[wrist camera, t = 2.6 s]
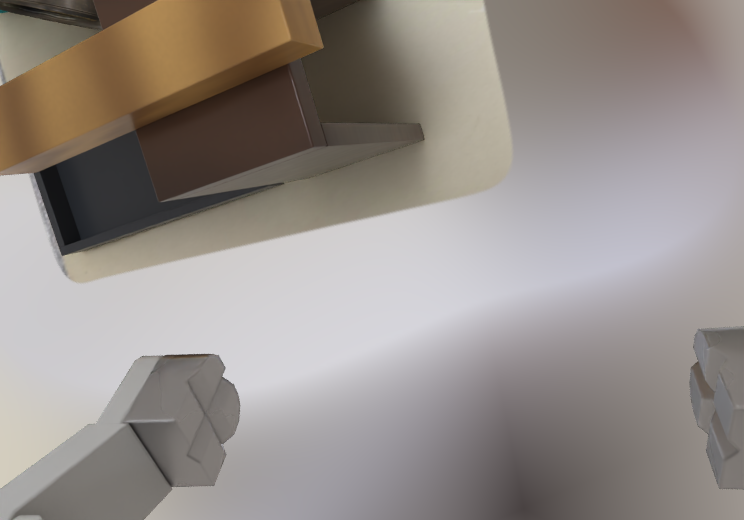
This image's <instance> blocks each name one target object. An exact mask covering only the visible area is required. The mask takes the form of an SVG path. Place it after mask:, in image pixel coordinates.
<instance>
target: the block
mask: <svg viewBox="0 0 744 520" xmlns="http://www.w3.org/2000/svg"><path fill="white" fill-rule="evenodd" d="M323 47H324V46H323V43H322V39H321V36H320V33H319V29H318V26H317V22H316V19H315V16H314V12H313V9H312V6H311V2H310V0H157V1H156V2H154V3H152V4H150V5H148V6H146V7H145V8H143V9H141V10H139V11H137V12H135V13H134V14H132V15H130V16H128V17H126V18H124V19H123V20H121V21H119V22H117V23H115V24H113V25H112V26H110V27H108V28H106V29H104V30H102V31H101V32H99V33H97V34H95V35H93V36H91V37H90V38H88V39H86V40H84V41H82V42H80V43H78V44H77V45H75V46H73V47H71V48H69V49H67V50H66V51H64V52H62V53H60V54H58V55H56V56H55V57H53V58H51V59H49V60H47V61H45V62H44V63H42V64H40V65H38V66H36V67H34V68H33V69H31V70H29V71H27V72H25V73H23V74H22V75H20V76H18V77H16V78H14V79H12V80H11V81H9V82H7V83H5V84H3V85H1V86H0V175H12V174H24V173H37V172H39V171H41V170H44V169H46V168H48V167H51V166H53V165H55V164H58V163H60V162H62V161H64V160H67V159H69V158H71V157H74V156H76V155H78V154H81V153H83V152H85V151H88V150H90V149H92V148H94V147H97V146H99V145H101V144H104V143H106V142H108V141H111V140H113V139H115V138H117V137H120V136H122V135H124V134H127V133H129V132H131V131H134V130H136V129H138V128H141V127H143V126H145V125H147V124H150V123H152V122H154V121H157V120H159V119H161V118H164V117H166V116H168V115H170V114H173V113H175V112H177V111H180V110H182V109H184V108H187V107H189V106H191V105H194V104H196V103H198V102H200V101H203V100H205V99H207V98H210V97H212V96H214V95H217V94H219V93H221V92H223V91H226V90H228V89H230V88H233V87H235V86H237V85H240V84H242V83H244V82H247V81H249V80H251V79H253V78H256V77H258V76H260V75H263V74H265V73H267V72H270V71H272V70H274V69H276V68H279V67H281V66H283V65H286V64H288V63H290V62H293V61H295V60H297V59H300V58H302V57H304V56H306V55H309V54H311V53H313V52H316V51H318V50H320V49H322V48H323Z"/></svg>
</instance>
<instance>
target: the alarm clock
mask: <svg viewBox="0 0 744 520" xmlns="http://www.w3.org/2000/svg"><path fill="white" fill-rule="evenodd" d="M0 10H2V11H7V12H11V13H15V14H20V15H25V16H30V17H34V18H39V19H43V20H48V21H53V22H58V23H62V24H68V25H75V26H80V27H86V28H91V29H97V30H102V27H101V24H100V21H99V17H98V14H97V11H96V8H95V5H94V2H93V0H0Z"/></svg>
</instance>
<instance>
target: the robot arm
mask: <svg viewBox="0 0 744 520" xmlns="http://www.w3.org/2000/svg"><path fill="white" fill-rule="evenodd" d="M693 348H694V350H695V353H696V356H697V359H698V362H697V363H695V364H694V365H693V366H692V367H691V373H690V395H691V403H692V407H693V412H694V415H695V418H696V421H697V425H698V427H699V428H701V429H702V430H703V431H704V432H706V433H707V434H708V442H707V449H706V452H707V455H708V458H709V461H710V464H711V466H712V469H713V472H714V475H715V478H716V481H717V484H718V487H719V489H744V326H741V327H724V328H707V329H698V330H697V332H696V334H695V338H694V346H693ZM224 371H225V366H224V364H223V362H222V361H221V359H220V357H219V356H218V355H214V354H188V355H165V356H142V357H140V358H139V359H137V360H135V361H134V363H133V365H132V366H131V368H130V369H129V371H128V373H127V374H126V376H125V378H124V379H123V381H122V382H121V384H120V386H119V387H118V389H117V391H116V392H115V394H114V396H113V397H112V399H111V400H110V402H109V403H108V405H107V407H106V408H105V410H104V412H103V413H102V415H101V416H100V418H99V420H98V421H97V423H96V424H88V425H87V426H85V427H84V428H83V429H81V430H80V431H79V432H77V433H76V434H75V435H73V436H72V437H71V438H69V439H68V440H66V441H65V442H64V443H62V444H61V445H60V446H58V447H57V448H55V449H54V450H53V451H51V452H50V453H49V454H47V455H46V456H45V457H43V458H42V459H41V460H39V461H38V462H36V463H35V464H34V465H32V466H31V467H30V468H28V469H27V470H25V471H24V472H23V473H21V474H20V475H19V476H17V477H16V478H15V479H13V480H12V481H11V482H9V483H8V484H6V485H5V486H4V487H2V488H1V489H0V520H144V519H145V518H146V517H147V516H148V515H149V514H150V513H151V511H152V510H153V509H154V508H155V507H156V506H157V505H158V504H159V503H160V502H161V501H162V500H163V499H164V497H166V496H167V494H168V493H169V492H170V491H171V490H172V488H171V487H189V486H214V485H215V482H216V479H217V477H218V474H219V472H220V469H221V467H222V464H223V462H224V459H225V457H226V452H225V450H224V447H223V444H224V443H225V442H226V441H227V440H228V439H229V438H230V437H232V436H233V435H234V433H235V431H236V428H237V425H238V422H239V414H240V401H239V396H238V393H237V391H236V389H235V386H234V384H232V383H231V382H229V381H228V380H226V379H225V378H223V377H222V375H223V373H224Z"/></svg>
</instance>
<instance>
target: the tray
mask: <svg viewBox="0 0 744 520" xmlns="http://www.w3.org/2000/svg"><path fill="white" fill-rule="evenodd" d="M34 176H35V179H36V182H37V184H38V187H39V190H40V193H41V196H42V199H43V202H44V205H45V208H46V211H47V214H48V217H49V220H50V222H51V225H52V228H53V231H54V234H55V237H56V240H57V243H58V246H59V247H60V248H59V249H60V252H61V255H62V256H64V255H68V254H73V253H77V252H82V251H85V250H88V249H91V248H94V247H97V246H100V245H103V244H106V243H109V242H112V241H115V240H118V239H121V238H124V237H127V236H130V235H133V234H136V233H139V232H142V231H145V230H148V229H151V228H154V227H157V226H160V225H163V224H166V223H169V222H172V221H175V220H178V219H180V218H183V217H186V216H189V215H192V214H195V213H198V212H201V211H204V210H207V209H210V208H213V207H216V206H219V205H222V204H225V203H228V202H231V201H234V200H237V199H240V198H243V197H246V196H249V195H252V194H255V193H258V192H261V191H264V190H267V189H270V188H273V187H276V186H279V185H282V184H284V182H282V183H276V184H270V185H264V186H258V187H252V188H245V189H239V190H233V191H227V192H221V193H215V194H209V195H202V196H196V197H190V198H184V199H177V200H171V201H165V202H159V201H158V199H157V196H156V193H155V189H154V186H153V183H152V180H151V177H150V174H149V171H148V168H147V165H146V162H145V159H144V156H143V153H142V150H141V146H140V143H139V140H138V137H137V134H136V131H135V130H134V131H131V132H129V133H127V134H124V135H122V136H120V137H117V138H115V139H113V140H111V141H108V142H106V143H104V144H101V145H99V146H97V147H94V148H92V149H90V150H88V151H85V152H83V153H81V154H78V155H76V156H74V157H71V158H69V159H67V160H64V161H62V162H60V163H58V164H55V165H53V166H51V167H48V168H46V169H44V170H41V171H39V172H37V173H34Z"/></svg>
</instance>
